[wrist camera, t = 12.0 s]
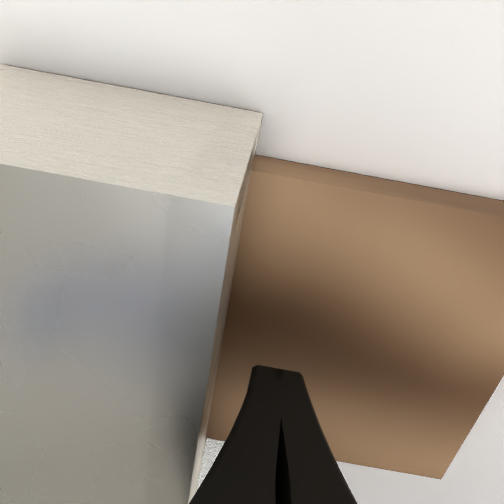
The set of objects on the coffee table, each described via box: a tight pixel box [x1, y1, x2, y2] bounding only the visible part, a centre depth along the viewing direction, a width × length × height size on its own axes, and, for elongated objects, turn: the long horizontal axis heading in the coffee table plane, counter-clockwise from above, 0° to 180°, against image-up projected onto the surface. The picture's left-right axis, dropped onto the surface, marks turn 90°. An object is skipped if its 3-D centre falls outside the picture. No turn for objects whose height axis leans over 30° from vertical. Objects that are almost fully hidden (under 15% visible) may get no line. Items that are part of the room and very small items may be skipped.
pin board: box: [206, 155, 504, 479], centre depth 12 cm, size 10×16×6 cm, turn 81°
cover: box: [0, 64, 263, 504], centre depth 11 cm, size 12×7×7 cm, turn 171°
